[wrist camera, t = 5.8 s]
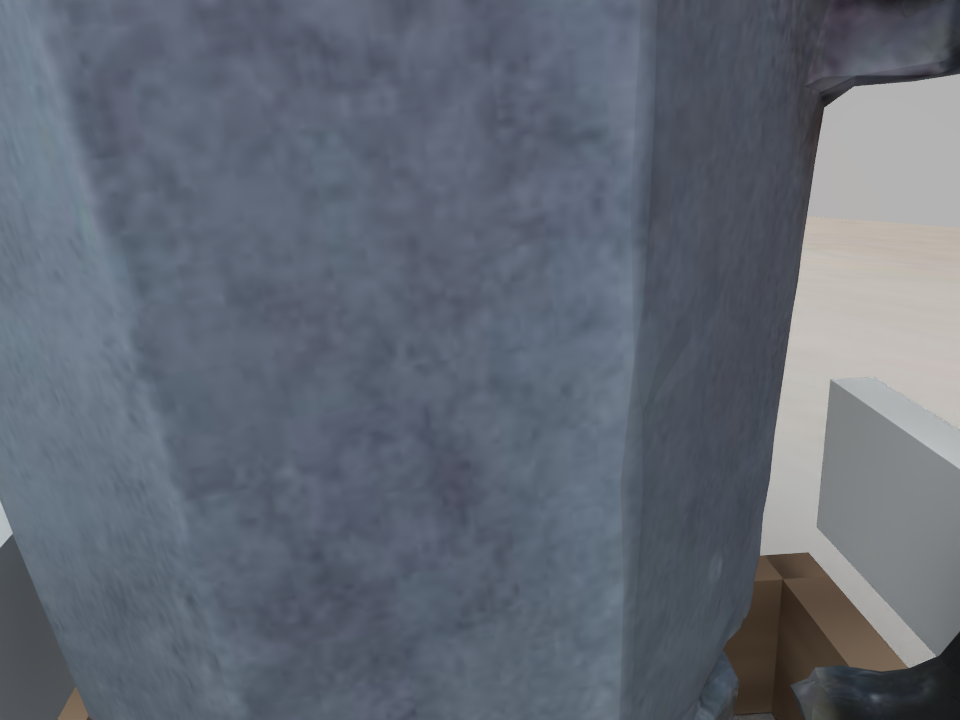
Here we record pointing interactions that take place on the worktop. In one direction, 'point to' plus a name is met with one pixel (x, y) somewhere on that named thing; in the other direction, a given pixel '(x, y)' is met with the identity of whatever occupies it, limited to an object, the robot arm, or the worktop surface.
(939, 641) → the robot arm
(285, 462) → the moka pot
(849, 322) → the worktop surface
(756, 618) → the frame
